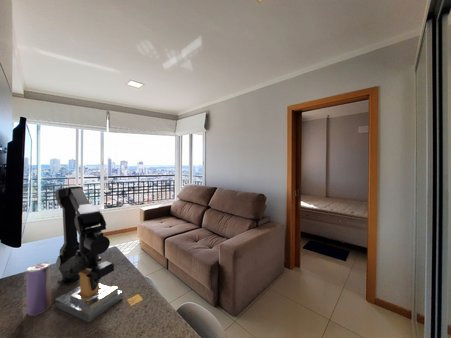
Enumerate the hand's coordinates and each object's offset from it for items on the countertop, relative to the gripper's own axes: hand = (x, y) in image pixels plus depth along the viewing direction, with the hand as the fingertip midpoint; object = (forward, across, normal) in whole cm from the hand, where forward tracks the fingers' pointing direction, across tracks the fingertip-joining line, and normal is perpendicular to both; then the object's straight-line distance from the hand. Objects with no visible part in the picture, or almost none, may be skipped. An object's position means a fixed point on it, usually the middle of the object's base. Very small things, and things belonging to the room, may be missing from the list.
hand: (89, 288), depth 70 cm
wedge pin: (+2, 0, 0) cm, 2 cm away
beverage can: (+5, -12, -9) cm, 16 cm away
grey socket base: (+5, 0, 0) cm, 5 cm away
